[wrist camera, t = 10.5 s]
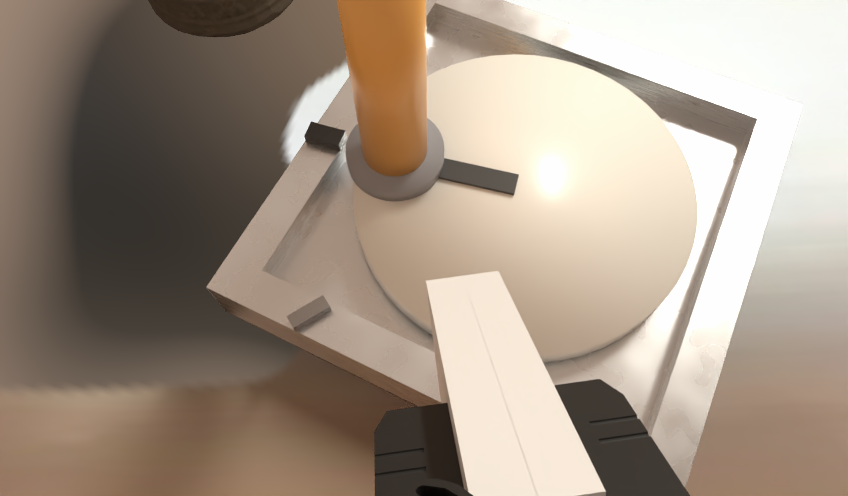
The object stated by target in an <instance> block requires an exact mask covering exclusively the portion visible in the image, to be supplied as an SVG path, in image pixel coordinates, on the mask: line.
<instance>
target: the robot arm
mask: <svg viewBox="0 0 848 496" xmlns="http://www.w3.org/2000/svg"><path fill="white" fill-rule="evenodd" d="M426 286H427V294H428V302H429V311H430V319H431V327H432V335H433V343H434V351H435V359H436V367H437V375H438V383H439V392H440V398H441V404H434V405H427V406H420V407H413V408H406V409H399V410H391V411H387V412H386V414H385V415H384V417H383V419H382V420H381V422H380V424H379V425H378V427H377V429H376V430H375V432H374V433H375V496H690V495H689V493H688V492H687V490H686V489H685V487H684V486H683V484H682V483H681V481H680V480H679V478H678V477H677V475H676V474H675V472H674V471H673V469H672V468H671V466H670V464H669V463H668V461H667V460H666V458H665V457H664V455H663V454H662V452H661V451H660V449H659V448H658V446H657V445H656V443H655V442H654V440H653V439H652V437H651V436H649V435H648V431H647V429H646V428H645V426H644V425H643V423H642V422H641V420H640V419H638V418H637V414H636V413H635V411H634V410H633V408H632V407H631V405H630V404H629V402H628V400H627V399H626V397H625V396H624V394H622V393H621V392H619V391H618V390H616V389H615V388H613V387H611V386H610V385H608V384H607V383H605V382H604V381H602V380H601V379H595V380H588V381H581V382H573V383H566V384H559V385H554V384H553V382H552V380H551V378H550V376H549V374H548V372H547V370H546V368H545V366H544V364H543V362H542V359H541V357H540V355H539V353H538V351H537V349H536V347H535V345H534V343H533V341H532V339H531V337H530V335H529V333H528V331H527V329H526V327H525V325H524V323H523V320H522V318H521V316H520V314H519V312H518V310H517V308H516V306H515V304H514V302H513V300H512V298H511V296H510V294H509V292H508V290H507V288H506V286H505V284H504V281H503V279H502V277H501V275H500V273H499V271H493V272H486V273H479V274H471V275H464V276H457V277H449V278H442V279H434V280H427V281H426Z"/></svg>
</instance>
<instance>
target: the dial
mask: <svg viewBox="0 0 848 496" xmlns="http://www.w3.org/2000/svg"><path fill="white" fill-rule="evenodd" d="M337 2H338V9H339V15H340V21H341V26H342V32H343V38H344V44H345V50H346V56H347V62H348V68H349V74H350V80H351V86H352V92H353V98H354V104H355V110H356V116H357V122H358V124H357V125H356V126H355V127H354V128H353V130H352V131H351V133H350V135H349V137H348V139H347V142H346V148H345V153H346V160H347V165H348V169H349V173H350V175H351V177H352V179H353V181H354V183H353V210H354V215H355V221H356V227H357V231H358V236H359V240H360V243H361V246H362V249H363V252H364V255H365V258H366V261H367V263H368V265H369V267H370V269H371V271H372V273H373V275H374V277H375V279H376V280H377V282H378V283H379V284H380V286H381V287H382V289H383V290H384V292H385V293H386V295H387V296H388V297H389V298H390V299H391V300H392V301H393V303H394V304H395V305H396V306H397V307H398V308H399V309H400V310H401V311H402V312H403V313H404V314H405V315H406V316H407V317H409V318H410V319H411V320H412V321H413V322H415V323H416V324H417V325H418V326H419V327H421V328H423V329H424V330H426V331H427V332H429V333H430V334H432V327H431V319H430V311H429V302H428V294H427V286H426V281H427V280H434V279H442V278H449V277H457V276H464V275H471V274H479V273H486V272H493V271H499V273H500V275H501V277H502V279H503V281H504V284H505V286H506V288H507V290H508V292H509V294H510V296H511V298H512V300H513V302H514V304H515V306H516V308H517V310H518V312H519V314H520V316H521V318H522V320H523V323H524V325H525V327H526V329H527V331H528V333H529V335H530V337H531V339H532V341H533V343H534V345H535V347H536V349H537V351H538V353H539V355H540V357H541V359H542V362H550V361H559V360H564V359H569V358H574V357H579V356H582V355H585V354H588V353H590V352H593V351H596V350H599V349H602V348H604V347H606V346H608V345H610V344H611V343H613V342H615V341H617V340H619V339H621V338H623V337H624V336H625V335H627V334H628V333H630V332H631V331H633V330H634V329H635V328H637V327H638V326H639V325H641V324H642V323H643V322H644V321H645V320H646V319H647V318H648V317H649V316H650V315H651V314H652V313H653V312H654V311H655V310H656V309H657V308H658V307H659V306H660V305H661V303H662V302H663V301H664V300H665V299H666V297H667V296H668V295H669V293H670V292H671V291H672V290H673V288H674V287H675V286H676V284H677V283H678V281H679V279H680V277H681V275H682V274H683V272H684V270H685V268H686V266H687V264H688V261H689V258H690V255H691V253H692V250H693V247H694V242H695V237H696V231H697V223H698V203H697V195H696V188H695V183H694V180H693V176H692V173H691V169H690V166H689V164H688V162H687V160H686V157H685V155H684V153H683V150H682V148H681V147H680V145H679V144H678V142H677V140H676V139H675V137H674V135H673V134H672V132H671V131H670V130H669V128H668V127H667V126H666V125H665V123H664V122H663V121H662V119H661V118H660V117H659V116H658V115H657V114H656V113H655V112H654V111H653V110H652V109H651V108H650V107H649V106H648V105H647V104H646V103H645V102H644V101H642V100H641V99H640V98H639V97H637V96H636V95H635V94H634V93H632V92H631V91H630V90H628V89H627V88H625V87H624V86H622V85H620V84H619V83H617V82H616V81H614V80H612V79H610V78H608V77H606V76H604V75H602V74H600V73H598V72H596V71H594V70H591V69H589V68H586V67H583V66H580V65H578V64H575V63H571V62H567V61H563V60H559V59H555V58H550V57H543V56H536V55H518V54H511V55H494V56H487V57H481V58H475V59H471V60H467V61H464V62H460V63H457V64H454V65H451V66H448V67H446V68H443V69H441V70H438V71H436V72H434V73H432V74H431V75H429V76H427V53H426V0H337Z"/></svg>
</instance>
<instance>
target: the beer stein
mask: <svg viewBox="0 0 848 496" xmlns="http://www.w3.org/2000/svg"><path fill="white" fill-rule="evenodd" d="M292 1H293V0H149V2H150V4H151V6H152V8H153V9H154V11H155V12H156V14H157V15H158V16H159V17H160V18H161V19H162V20H163V21H164V22H165V23H167V24H168V25H170V26H171V27H173V28H175V29H177V30H178V31H181V32H184V33H188V34H192V35H197V36H207V37H229V36H235V35H240V34H245V33H248V32H250V31H253V30H255V29H257V28H259V27H261V26H263V25H265V24H267V23H269V22H270V21H272V20H273V19H275V18H276V17H277V16H279V15H280V14H281V13H282V12H283V11H284V10H285V9H286V8H287V7H288V6H289V5H290V4H291V2H292Z"/></svg>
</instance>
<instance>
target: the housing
mask: <svg viewBox="0 0 848 496" xmlns="http://www.w3.org/2000/svg"><path fill="white" fill-rule="evenodd" d="M426 53H427V76H429V75H431V74H432V73H434V72H436V71H438V70H441V69H443V68H446V67H448V66H451V65H454V64H457V63H460V62H464V61H467V60H471V59H475V58H481V57H487V56H494V55H511V54H518V55H536V56H543V57H550V58H555V59H559V60H563V61H567V62H571V63H575V64H578V65H580V66H583V67H586V68H589V69H591V70H594V71H596V72H598V73H600V74H602V75H604V76H606V77H608V78H610V79H612V80H614V81H616V82H617V83H619V84H620V85H622V86H624V87H625V88H627V89H628V90H630V91H631V92H632V93H634V94H635V95H636V96H637V97H639V98H640V99H641V100H642V101H644V102H645V103H646V104H647V105H648V106H649V107H650V108H651V109H652V110H653V111H654V112H655V113H656V114H657V115H658V116H659V117H660V118H661V119H662V121H663V122H664V123H665V125H666V126H667V127H668V128H669V130H670V131H671V132H672V134H673V135H674V137H675V139H676V140H677V142H678V144H679V145H680V147H681V148H682V150H683V153H684V155H685V157H686V160H687V162H688V164H689V166H690V169H691V173H692V176H693V180H694V183H695V188H696V195H697V203H698V223H697V231H696V237H695V242H694V247H693V250H692V253H691V255H690V258H689V261H688V264H687V266H686V268H685V270H684V272H683V274H682V275H681V277H680V279H679V281H678V283H677V284H676V286H675V287H674V288H673V290H672V291H671V292H670V293H669V295H668V296H667V297H666V299H665V300H664V301H663V302H662V303H661V305H660V306H659V307H658V308H657V309H656V310H655V311H654V312H653V313H652V314H651V315H650V316H649V317H648V318H647V319H646V320H645V321H644V322H643V323H642V324H641V325H639V326H638V327H637V328H635V329H634V330H633V331H631V332H630V333H628V334H627V335H625V336H624V337H623V338H621V339H619V340H617V341H615V342H613V343H611V344H610V345H608V346H606V347H604V348H602V349H599V350H596V351H593V352H590V353H588V354H585V355H582V356H579V357H574V358H569V359H564V360H559V361H550V362H543V364H544V366H545V368H546V370H547V372H548V374H549V376H550V378H551V380H552V382H553V384H554V385H559V384H566V383H573V382H581V381H588V380H595V379H601V380H602V381H604V382H605V383H607V384H608V385H610V386H611V387H613V388H615V389H616V390H618V391H619V392H621V393H622V394H624V396H625V397H626V399H627V400H628V402H629V404H630V405H631V407H632V408H633V410H634V411H635V413H636V414H637V418H638V419H640V420H641V422H642V423H643V425H644V426H645V428H646V429H647V431H648V435H649V436H651V437H652V439H653V440H654V442H655V443H656V445H657V446H658V448H659V449H660V451H661V452H662V454H663V455H664V457H665V458H666V460H667V461H668V463H669V464H670V466H671V468H672V469H673V471H674V472H675V474H676V475H677V477H678V478H679V480H680V481H681V483H682V484H683V486H684V487H685V486H686V483H687V480H688V477H689V473H690V470H691V467H692V464H693V460H694V457H695V454H696V450H697V447H698V444H699V441H700V437H701V434H702V431H703V428H704V424H705V421H706V418H707V415H708V411H709V408H710V405H711V401H712V398H713V395H714V392H715V388H716V385H717V382H718V379H719V375H720V372H721V369H722V365H723V362H724V359H725V356H726V352H727V349H728V346H729V343H730V339H731V336H732V333H733V330H734V326H735V323H736V320H737V316H738V313H739V310H740V307H741V303H742V300H743V297H744V294H745V290H746V287H747V284H748V281H749V277H750V274H751V271H752V267H753V264H754V261H755V258H756V254H757V251H758V248H759V245H760V241H761V238H762V235H763V231H764V228H765V225H766V222H767V218H768V215H769V212H770V209H771V205H772V202H773V199H774V196H775V192H776V189H777V186H778V182H779V179H780V176H781V173H782V169H783V166H784V163H785V160H786V156H787V153H788V150H789V147H790V143H791V140H792V137H793V133H794V130H795V127H796V124H797V120H798V117H799V114H800V111H801V107H802V105H801V104H798V103H795V102H792V101H789V100H786V99H784V98H781V97H778V96H775V95H772V94H769V93H766V92H764V91H761V90H758V89H755V88H752V87H749V86H746V85H744V84H741V83H738V82H735V81H732V80H729V79H726V78H724V77H721V76H718V75H715V74H712V73H709V72H706V71H704V70H701V69H698V68H695V67H692V66H689V65H686V64H684V63H681V62H678V61H675V60H672V59H669V58H666V57H664V56H661V55H658V54H655V53H652V52H649V51H646V50H644V49H641V48H638V47H635V46H632V45H629V44H626V43H624V42H621V41H618V40H615V39H612V38H609V37H606V36H603V35H601V34H598V33H595V32H592V31H589V30H586V29H583V28H581V27H578V26H575V25H572V24H569V23H566V22H563V21H561V20H558V19H555V18H552V17H549V16H546V15H543V14H541V13H538V12H535V11H532V10H529V9H526V8H523V7H521V6H518V5H515V4H512V3H509V2H506V1H503V0H426ZM357 124H358V122H357V116H356V110H355V104H354V98H353V92H352V86H351V80H350V76H349V78H348V79H347V81H346V82H345V84H344V85H343V87H342V88H341V90H340V91H339V92H338V94H337V95H336V97H335V98H334V100H333V101H332V103H331V104H330V106H329V107H328V109H327V110H326V112H325V113H324V115H323V116H322V118H321V119H320V120H319V122H318V123H314V122H311V123H310V125H309V128H308V130H307V132H306V134H305V140H306V141H305V143H304V144H303V146H302V147H301V148H300V150H299V151H298V153H297V154H296V156H295V157H294V159H293V160H292V162H291V163H290V165H289V166H288V168H287V169H286V171H285V172H284V174H283V175H282V177H281V178H280V179H279V181H278V182H277V184H276V185H275V187H274V188H273V190H272V191H271V193H270V194H269V196H268V197H267V199H266V200H265V202H264V203H263V204H262V206H261V207H260V209H259V211H258V212H257V213H256V215H255V216H254V218H253V219H252V221H251V222H250V224H249V225H248V227H247V228H246V230H245V231H244V233H243V234H242V235H241V237H240V238H239V240H238V241H237V243H236V244H235V246H234V247H233V249H232V250H231V252H230V253H229V255H228V256H227V258H226V259H225V261H224V262H223V263H222V265H221V266H220V268H219V269H218V271H217V272H216V274H215V275H214V277H213V278H212V280H211V281H210V283H209V284H208V286H207V287H206V288H207V289H208V290H209V291H210V293H211V294H212V295H213V296H214V297H215V298H216V300H217V301H218V302H219V303H220V305H221V306H222V307H223V308H224V309H225V311H227V312H229V313H231V314H233V315H235V316H237V317H239V318H241V319H243V320H245V321H247V322H249V323H251V324H253V325H255V326H257V327H259V328H261V329H263V330H265V331H267V332H269V333H271V334H273V335H275V336H277V337H279V338H281V339H283V340H285V341H287V342H289V343H291V344H293V345H295V346H297V347H299V348H301V349H303V350H305V351H307V352H309V353H311V354H313V355H315V356H317V357H319V358H321V359H323V360H325V361H328V362H330V363H332V364H334V365H336V366H338V367H340V368H342V369H344V370H346V371H348V372H350V373H352V374H354V375H356V376H358V377H360V378H362V379H364V380H366V381H368V382H370V383H372V384H374V385H376V386H378V387H380V388H382V389H384V390H386V391H388V392H390V393H392V394H394V395H396V396H398V397H400V398H402V399H404V400H406V401H408V402H410V403H412V404H414V405H416V406H418V407H420V406H427V405H434V404H441V398H440V392H439V383H438V375H437V367H436V359H435V351H434V343H433V335H432V334H430V333H429V332H427V331H426V330H424V329H423V328H421V327H419V326H418V325H417V324H416V323H415V322H413V321H412V320H411V319H410V318H409V317H407V316H406V315H405V314H404V313H403V312H402V311H401V310H400V309H399V308H398V307H397V306H396V305H395V304H394V303H393V301H392V300H391V299H390V298H389V297H388V296H387V295H386V293H385V292H384V290H383V289H382V287H381V286H380V284H379V283H378V282H377V280H376V279H375V277H374V275H373V273H372V271H371V269H370V267H369V265H368V263H367V261H366V258H365V255H364V252H363V249H362V246H361V243H360V240H359V236H358V231H357V227H356V221H355V215H354V210H353V183H354V181H353V179H352V177H351V175H350V173H349V169H348V165H347V160H346V153H345V148H346V142H347V139H348V137H349V135H350V133H351V131H352V130H353V128H354V127H355V126H356V125H357Z"/></svg>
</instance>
